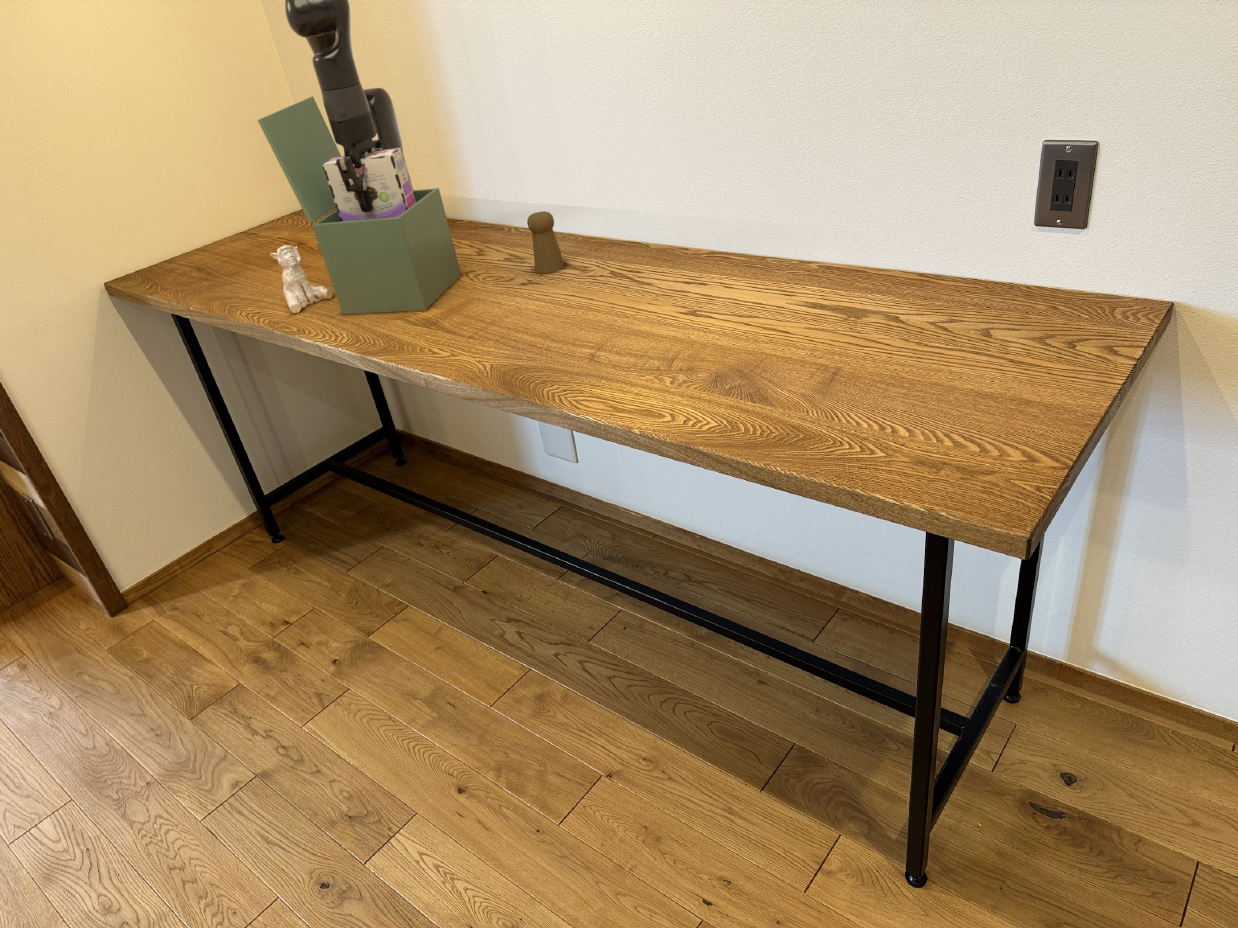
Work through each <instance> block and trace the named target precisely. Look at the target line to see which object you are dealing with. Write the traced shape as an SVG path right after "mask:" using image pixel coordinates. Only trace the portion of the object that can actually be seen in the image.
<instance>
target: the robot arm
mask: <svg viewBox="0 0 1238 928" xmlns="http://www.w3.org/2000/svg"><path fill="white" fill-rule="evenodd" d="M284 10H285V17H286V20H287V23H288V25H289V28H290V29H291V30H292V31H293V32H294V34H296V36H299V37H301V38H303V39H305V40H306V42H307V44H308V46H309V48H310V49H311V52H312V54H313V56H312V59H311V63H312V67H313V69H314V72H315V75H316V76H315V77H316V79H317V82H318V83H317V84H318V86H319V89H320V92H321V96H322V102H323V107H324V109H325V112H326V116H327V119H328V123H329V126H330V130H331V132H332V137H333V140H334V142H335V144H336V145H339V146H342V148H343V156H345V157H344V158H342V159H337V160H336V164H337V167H338V169H339V172H340V174H341V177H342V180H343V182H344V185H345V187H346V190H347V191H348V192H355V193H356V195H357V199H358V202H359V204H360V208H361V210H362V211H363V212H370V211H372V210H373V205H372V202H371V199H370V195H369V192H368V190H367V180H366V179H367V178H368V174H367V171H366V167H365V163H364V164H362V165H361V159H366V157H367V156H369V153H374V152H376V151H380V150H387V149H394V148H401V152H402V155H403V159H404V162H405V166H406V170H407V173H408V176H409V180H410V184H411V187H412V190H414V187H413V184H412V180H411V177H410V173H409V170H408V166H407V162H406V158H405V155H404V145H403V140H402V136H401V133H400V128H399V124H398V118H397V113H396V109H395V106H394V103H393V100H392V98H391V95H390V93H388V91H386V89H384V88H382V87H372V88H363V86H362V83H361V79H360V76H359V72H358V69H357V65H356V62H355V58H354V52H353V47H352V31H351V29H352V28H351V27H352V26H351V25H352V23H351V21H352V20H351V5H350V3H349V0H284ZM376 136H377V139H375V138H376ZM361 166H362V173H357V174H356V171H355V169H354V168H361ZM358 178H361V184H360V182H359V180H358ZM349 179H351V181H352V185H351V184H350V181H349Z"/></svg>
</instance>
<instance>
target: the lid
mask: <svg viewBox="0 0 1238 928" xmlns="http://www.w3.org/2000/svg"><path fill="white" fill-rule="evenodd" d="M257 122H258V124H259V127H260V128H261V130H262V133H263V134H264V137H265V138H266V140H267V142H268V144H269V146H270V148H271V150H272V152H273V154H274V156H275V158H276V160H277V162H278V164H279V166H280V168H281V170H282V172H283V174H284V176H285V178H286V179H287V182H288V184H289V185H290V187H291V190H292V192H293V194H294V195H295V198H296V199H297V201H298V203H299V205H300V207H301V210H302V212H303V213H304V215H305V218H306V219H307V221H308V223H309V224H312V223H315V221H318V220H319V219H321V218H322V217H323V216H325V215H326V214H329V212H330V211H331V212H332V211H333V210H335V208H336V205H335V203H334V200H333V196H332V193H331V190H330V187H329V184H328V181H327V178H326V175H325V172H324V170H323V167H322V165H323V164H325V163H326V162H327V161H329V160H330V159H332V158H333V157H339V156H342V155H341V152H340V151H339V149H338V146H337V143H336V142H335V139H334V137H333V135H332V133H331V132H330V129H329V127H328V125H327V123H326V121H325V119H324V117H323V114H322V113H321V110H320V108H319V106H318V104H317V102H316V100H315V97H314V96H313V95H312V96H309V97H307V98H304V99H303V100H300V101H297V102H296V103H293V104H292V105H288V106H287V107H284V108H282V109H280V110H278V111H275V112H273V113H270V114H268V115H266V116H264V117H261V118H258V119H257Z"/></svg>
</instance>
